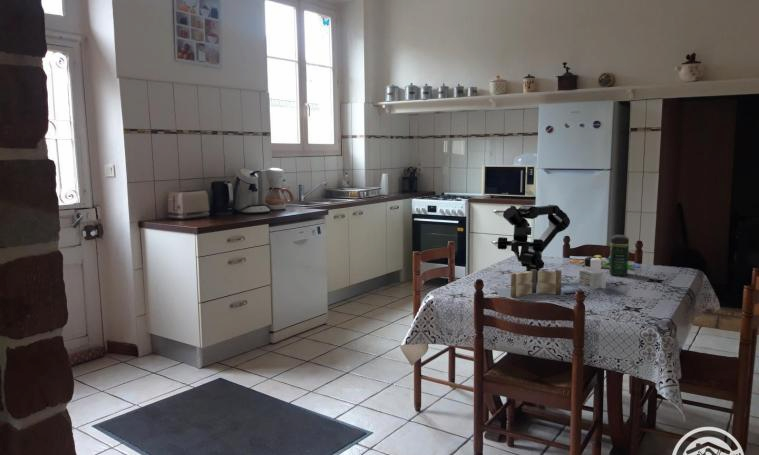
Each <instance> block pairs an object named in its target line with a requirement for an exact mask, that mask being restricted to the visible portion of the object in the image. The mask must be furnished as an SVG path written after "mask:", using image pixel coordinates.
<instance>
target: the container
mask: <svg viewBox="0 0 759 455" xmlns="http://www.w3.org/2000/svg"><path fill="white" fill-rule="evenodd" d="M601 259H602V258H601ZM601 259H600V258H598V257H594V256H587V257H585V258H584V261H585V262H584V263H585V267H584V268H581V269H579V280H578V282H579V284H578V285H579V287H583V288H587V289H590V290H595V289H603V290H604V289H606V288H607V285H606V284H607V270H605V269H602V268H601Z"/></svg>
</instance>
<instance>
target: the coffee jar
mask: <svg viewBox="0 0 759 455" xmlns="http://www.w3.org/2000/svg"><path fill="white" fill-rule="evenodd" d="M629 244H630V239H629V237H628V236H626V235H625V234H614V235H612V236H611V237H610V247H609V248H610V250H609V257H610V269H609V275H612V276H617V277H622V276H627V275H628V271H629V269H628V263H629V252H630V251H629V248H630V247H629Z"/></svg>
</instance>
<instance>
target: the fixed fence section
mask: <svg viewBox="0 0 759 455" xmlns="http://www.w3.org/2000/svg"><path fill="white" fill-rule="evenodd" d="M562 272H563V270H562V269H556V270H554V271H553V270H539V271H538V282H537V293H545V294H561V292H562Z"/></svg>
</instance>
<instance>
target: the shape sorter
mask: <svg viewBox="0 0 759 455" xmlns="http://www.w3.org/2000/svg"><path fill="white" fill-rule="evenodd" d="M593 257H598V258H600V259H601V269H604V270H605V269H608V270H610V256H608V259H604V258H603V259H602V255H600V254H596V255H594V256H593ZM569 263H571V264H572V263H573V264H581V267H584V268H585V260H579V259H572V260H569ZM632 268H640V266H639V264H636V263H635V264H633V263H629V262H628V271H629V270H632Z"/></svg>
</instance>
